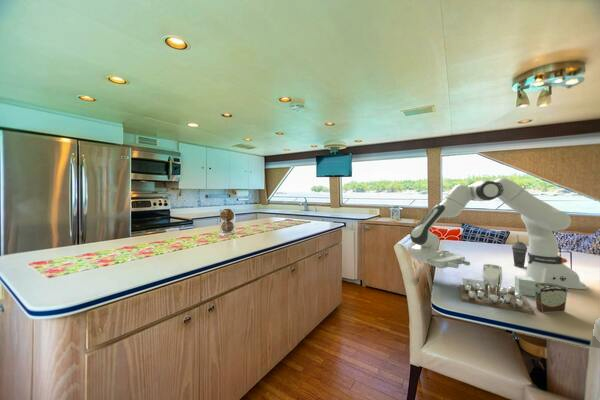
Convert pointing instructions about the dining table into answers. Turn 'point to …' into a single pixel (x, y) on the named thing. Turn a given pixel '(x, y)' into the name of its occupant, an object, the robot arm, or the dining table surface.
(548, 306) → the food container
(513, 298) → the board
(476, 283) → the grey mat
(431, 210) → the robot arm
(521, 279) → the skincare box
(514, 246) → the beverage cup
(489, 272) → the silver metal tumbler
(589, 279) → the dining table surface
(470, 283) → the spacers
